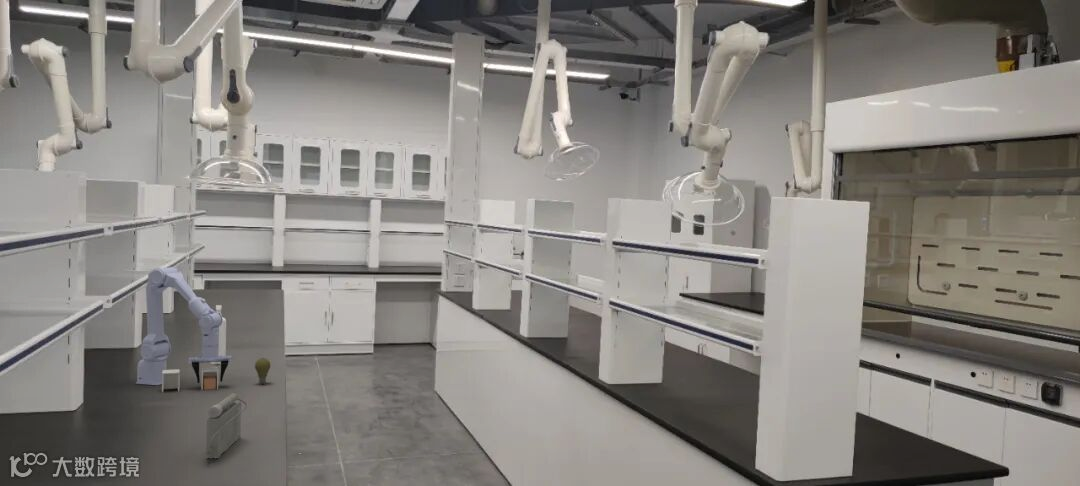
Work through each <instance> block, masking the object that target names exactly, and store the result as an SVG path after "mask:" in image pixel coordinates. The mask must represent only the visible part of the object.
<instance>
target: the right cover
mask: <svg viewBox="0 0 1080 486" xmlns="http://www.w3.org/2000/svg"><path fill="white" fill-rule="evenodd" d="M208 376H216V390H218V389H219V367H202V368H201V382H200V383H201V391H203V390H204V377H208Z"/></svg>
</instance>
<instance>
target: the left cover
mask: <svg viewBox="0 0 1080 486" xmlns="http://www.w3.org/2000/svg"><path fill="white" fill-rule="evenodd" d="M180 372H181V370H180V368H179V369H166V370H163V372H162V384H161V393H164V390H171V389H173V390H174V389H177V392H180V389H181V386H180V383H181V382H180V380H181V379H180V378H181V376H180V374H181V373H180Z"/></svg>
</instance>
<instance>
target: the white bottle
mask: <svg viewBox="0 0 1080 486" xmlns="http://www.w3.org/2000/svg"><path fill="white" fill-rule="evenodd" d="M222 308H223V305H221V304H216V305H215V312H218V313H220V315H221V316H222V319H223V321H222V324H221V326H219V356H227V354H226V353H227V319H226V318H225V317H223V315H222ZM214 361H216V360H214ZM209 364H211V365H221V362H209Z"/></svg>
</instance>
